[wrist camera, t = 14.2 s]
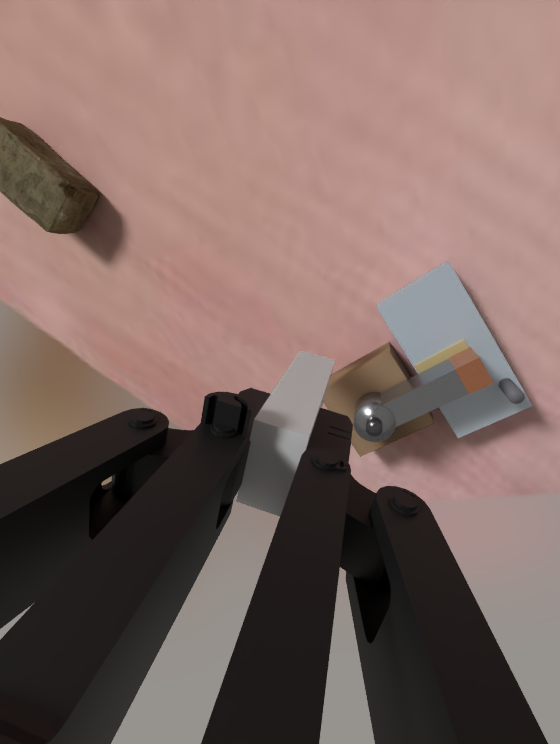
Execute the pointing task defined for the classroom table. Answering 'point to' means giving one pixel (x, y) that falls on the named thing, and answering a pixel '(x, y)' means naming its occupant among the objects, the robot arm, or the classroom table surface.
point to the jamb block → (365, 377)
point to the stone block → (42, 181)
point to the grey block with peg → (452, 345)
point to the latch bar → (419, 395)
